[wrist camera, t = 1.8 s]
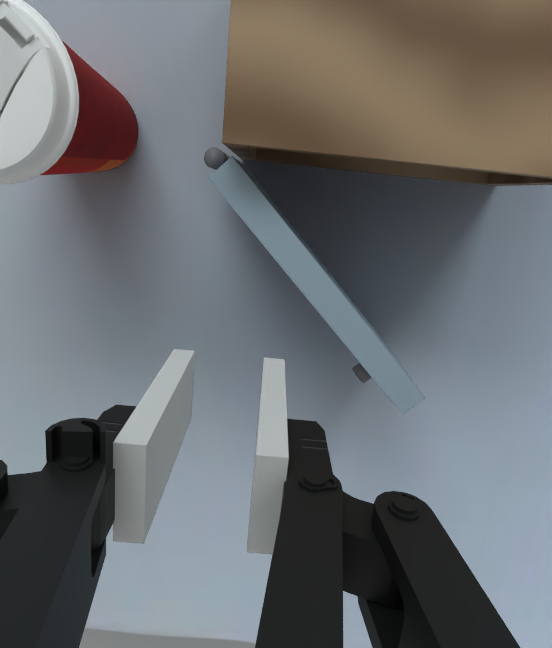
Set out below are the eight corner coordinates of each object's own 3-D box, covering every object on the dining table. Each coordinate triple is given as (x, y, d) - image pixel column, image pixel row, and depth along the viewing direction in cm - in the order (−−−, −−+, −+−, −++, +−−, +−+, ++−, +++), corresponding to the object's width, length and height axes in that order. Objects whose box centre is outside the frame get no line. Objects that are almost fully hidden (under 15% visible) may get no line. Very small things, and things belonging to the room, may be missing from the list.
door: (233, 151, 31) (217, 137, 23) (388, 347, 35) (425, 398, 27) (204, 177, 32) (177, 173, 23) (361, 367, 36) (388, 424, 27)
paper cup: (94, 38, 31) (-51, -81, 17) (177, 133, 32) (105, 91, 19) (17, 124, 32) (-173, 77, 19) (100, 210, 34) (-19, 224, 20)
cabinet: (256, -43, 29) (243, -195, 18) (539, -11, 30) (706, -138, 18) (241, 159, 33) (222, 142, 21) (496, 185, 33) (614, 183, 21)
